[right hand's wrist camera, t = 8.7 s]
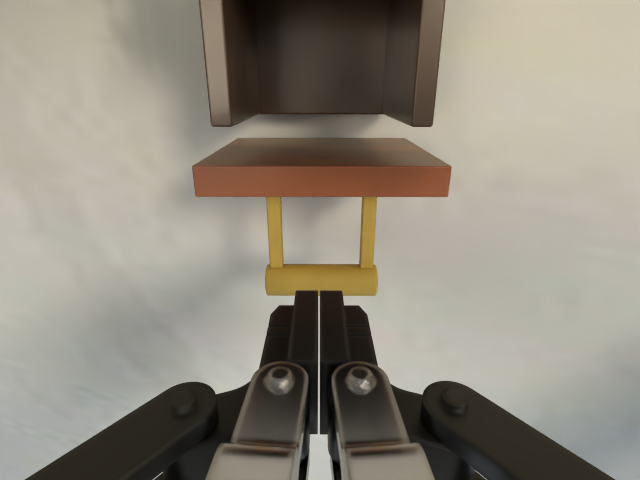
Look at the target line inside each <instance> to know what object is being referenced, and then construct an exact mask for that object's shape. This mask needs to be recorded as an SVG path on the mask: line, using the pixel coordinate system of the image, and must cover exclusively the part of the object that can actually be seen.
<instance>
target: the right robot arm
mask: <svg viewBox="0 0 640 480" xmlns="http://www.w3.org/2000/svg"><path fill="white" fill-rule="evenodd" d="M310 434H318V290H296V293H295V302H294V305H279V306H278V307H277V308H276V310H275V311H274V312H273V313H272V314H271V316H270V321H269V327H268V330H267V336H266V339H265V344H264V349H263V353H262V358H261V362H260V367H259V369H258V370H257V371H256V372H255V373H254V375H253V377H252V379H251V381H250V382H249V383H247V384H246V385H244V386H242V387H240V388H238V389H235V390H232V391H228V392H224V393H220V394H215V392H214V390H213V389H212V388H211V387H210V386H208V385H207V384H204V383H200V382H186V383H182V384H178V385H176V386H173V387H171V388H169V389H168V390H166V391H164V392H163V393H161V394H160V395H158V396H156V397H155V398H153V399H152V400H150V401H148V402H147V403H145V404H144V405H142V406H141V407H139V408H137V409H136V410H134V411H133V412H131V413H130V414H128V415H126V416H125V417H123V418H122V419H120V420H118V421H117V422H115V423H114V424H112V425H111V426H109V427H107V428H106V429H104V430H103V431H101V432H99V433H98V434H96V435H95V436H93V437H92V438H90V439H88V440H87V441H85V442H84V443H82V444H81V445H79V446H77V447H76V448H74V449H73V450H71V451H69V452H68V453H66V454H65V455H63V456H62V457H60V458H58V459H57V460H55V461H54V462H52V463H51V464H49V465H47V466H46V467H44V468H43V469H41V470H39V471H38V472H36V473H35V474H33V475H32V476H30V477H28V478H27V479H25V480H153V479H154V478H155V477H156V476H158V475H159V474H160V473H161V472H163V473H162V474H161V475H159V476H158V477H157V478H156V479H154V480H308V473H309V462H310V458H309V442H310ZM320 434H328V451H329V454H330V456H331V458H330V462H331V473H332V480H486V479H487V480H615V479H613V478H612V477H610V476H608V475H607V474H605V473H604V472H602V471H601V470H599V469H597V468H596V467H594V466H593V465H591V464H589V463H588V462H586V461H585V460H583V459H582V458H580V457H578V456H577V455H575V454H574V453H572V452H571V451H569V450H567V449H566V448H564V447H563V446H561V445H559V444H558V443H556V442H555V441H553V440H552V439H550V438H548V437H547V436H545V435H544V434H542V433H540V432H539V431H537V430H536V429H534V428H533V427H531V426H529V425H528V424H526V423H525V422H523V421H522V420H520V419H518V418H517V417H515V416H514V415H512V414H510V413H509V412H507V411H506V410H504V409H503V408H501V407H499V406H498V405H496V404H495V403H493V402H492V401H490V400H488V399H487V398H485V397H484V396H482V395H480V394H479V393H477V392H476V391H474V390H473V389H471V388H469V387H467V386H465V385H463V384H460V383H457V382H452V381H439V382H435V383H432V384H430V385H429V386H428V387H426V389H425V390H424V392H423V395H421V394H417V393H413V392H409V391H405V390H402V389H399V388H397V387H395V386H393V385H391V384H390V382H389V379H388V377H387V375H386V373H385V372H384V371H383V370H382V369H381V368H379V367H378V365H377V360H376V355H375V350H374V345H373V340H372V336H371V331H370V327H369V321H368V316H367V314H366V313H365V312H364V311H363V310H362V309H361V307H360V306H344V302H343V293H342V290H320ZM475 470H476V471H477V472H479V473H480V474H481V475H482V476H484V477H485V478H486V479H484V478H483V477H482V476H481V475H479V474H478V473H477V472H476V471H475Z"/></svg>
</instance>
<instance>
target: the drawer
mask: <svg viewBox="0 0 640 480" xmlns="http://www.w3.org/2000/svg"><path fill="white" fill-rule="evenodd" d="M199 6H200V16H201V26H202V36H203V46H204V57H205V67H206V77H207V87H208V97H209V108H210V118H211V125H212V126H213V127H231V126H233V125H236V124H238V123H240V122H243V121H245V120H247V119H250V118H252V117H254V116H256V115H259V114H384V115H387V116H389V117H391V118H394V119H396V120H398V121H401V122H403V123H405V124H408V125H410V126H413V127H431V126H432V125H433V117H434V107H435V97H436V88H437V78H438V68H439V58H440V49H441V39H442V29H443V20H444V10H445V0H199ZM451 168H452V167H451V166H450V165H448V164H447V163H445V162H443V161H442V160H440V159H438V158H437V157H435V156H433V155H432V154H430V153H428V152H427V151H425V150H423V149H422V148H420V147H418V146H417V145H415V144H413V143H412V142H410V141H408V140H407V139H405V138H238V139H236V140H234V141H233V142H231V143H229V144H228V145H226V146H225V147H223V148H221V149H220V150H218V151H216V152H215V153H213V154H211V155H210V156H208V157H207V158H205V159H203V160H202V161H200V162H198V163H197V164H195V165H194V166H192V169H193V178H194V186H195V194H196V196H197V197H266V200H267V219H268V239H269V258H270V264H269V265H267V268H266V275H265V288H266V293H267V295H269V296H295V293H296V290H318V296H320V290H342V293H343V296H374V295H376V293H377V286H378V276H377V268H376V266H375V265H374V264H373V259H374V241H375V223H376V205H377V197H448V192H449V184H450V176H451ZM281 197H362V213H361V237H360V261H359V263H360V264H283V238H282V211H281Z"/></svg>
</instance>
